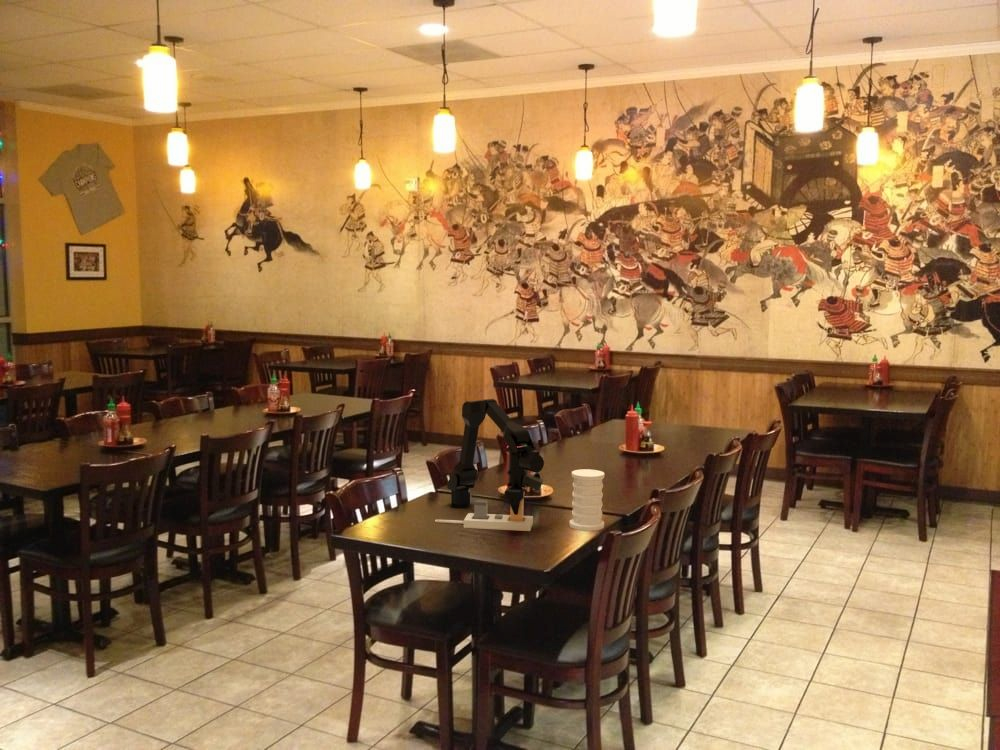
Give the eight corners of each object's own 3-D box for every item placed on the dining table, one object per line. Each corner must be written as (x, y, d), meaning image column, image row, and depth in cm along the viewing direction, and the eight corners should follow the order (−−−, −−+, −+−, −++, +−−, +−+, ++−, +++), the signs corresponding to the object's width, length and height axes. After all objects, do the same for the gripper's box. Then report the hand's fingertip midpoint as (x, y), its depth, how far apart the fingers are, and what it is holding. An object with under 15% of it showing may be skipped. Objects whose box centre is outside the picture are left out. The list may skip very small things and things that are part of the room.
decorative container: (568, 529, 289) (569, 475, 287) (570, 520, 300) (571, 468, 298) (603, 531, 287) (605, 477, 285) (604, 521, 299) (606, 469, 297)
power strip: (432, 526, 291) (432, 516, 291) (437, 518, 300) (437, 509, 300) (530, 531, 287) (530, 521, 287) (532, 523, 296) (533, 513, 295)
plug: (510, 521, 291) (510, 497, 290) (511, 519, 294) (511, 495, 293) (522, 522, 290) (522, 498, 289) (523, 519, 293) (523, 496, 292)
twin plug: (474, 525, 292) (474, 502, 291) (475, 523, 295) (475, 499, 294) (486, 526, 292) (486, 502, 291) (487, 523, 295) (487, 500, 294)
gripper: (539, 474, 280) (538, 522, 281) (544, 462, 298) (543, 507, 300) (504, 472, 281) (503, 520, 283) (511, 460, 299) (510, 505, 301)
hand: (516, 513), depth 292 cm, fingers closed on plug, 3 cm apart
